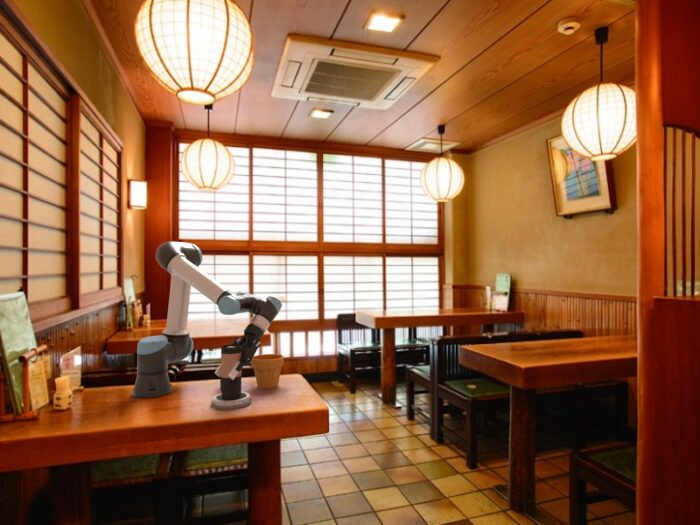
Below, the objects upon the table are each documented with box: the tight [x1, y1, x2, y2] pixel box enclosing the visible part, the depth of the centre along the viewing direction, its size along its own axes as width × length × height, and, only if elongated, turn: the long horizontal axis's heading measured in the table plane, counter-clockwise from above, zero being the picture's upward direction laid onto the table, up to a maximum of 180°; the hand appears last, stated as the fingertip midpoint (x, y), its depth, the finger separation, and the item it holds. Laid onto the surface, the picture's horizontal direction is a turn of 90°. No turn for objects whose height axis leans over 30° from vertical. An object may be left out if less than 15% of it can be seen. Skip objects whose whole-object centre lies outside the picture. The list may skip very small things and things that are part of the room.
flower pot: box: [250, 353, 285, 389], centre depth 191 cm, size 14×14×13 cm
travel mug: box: [220, 344, 243, 401], centre depth 166 cm, size 8×8×20 cm
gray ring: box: [210, 391, 252, 411], centre depth 165 cm, size 15×15×3 cm
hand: (223, 376), depth 163 cm, fingers closed on travel mug, 7 cm apart
